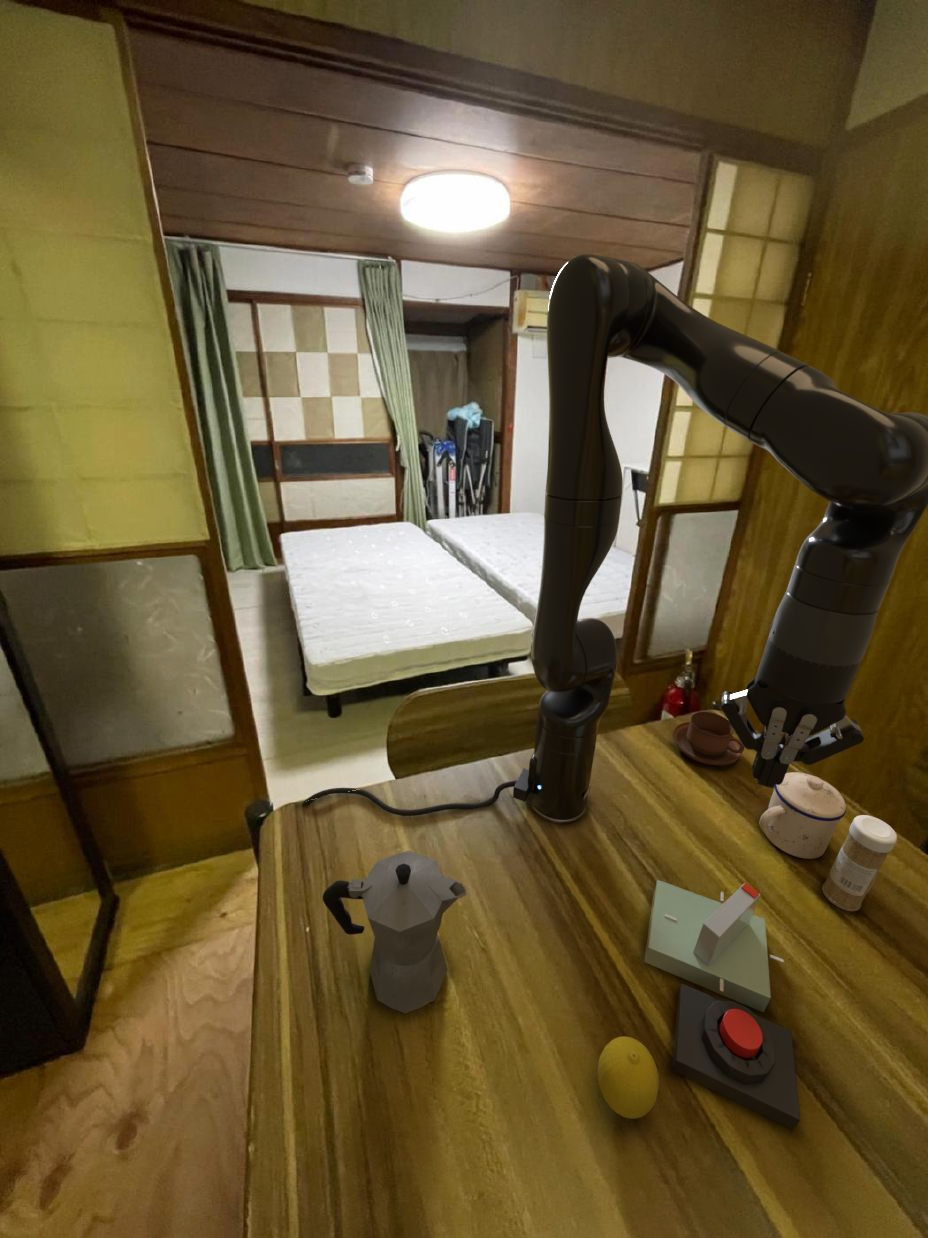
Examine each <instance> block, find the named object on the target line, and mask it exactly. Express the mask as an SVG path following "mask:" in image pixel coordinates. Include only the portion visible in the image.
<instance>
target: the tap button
mask: <svg viewBox="0 0 928 1238" xmlns="http://www.w3.org/2000/svg"><path fill="white" fill-rule="evenodd" d="M720 1034H721V1037H722V1040H723V1042H724V1043H725V1045H726V1046H727V1047H728V1048H729V1050H731V1051H732V1052H733V1053H734V1054H736V1055H737V1056H739V1057H742V1058H752V1057H754V1056H755V1055H756V1054H757V1052H758V1050H759V1048H760V1046H761V1045H762V1041H763V1036H762V1032H761V1029H760V1027H759V1025H758V1024H757V1022H756V1021H755V1020H754V1019H753V1018H752V1017H751V1016H750V1015H749V1014H748V1013H746V1012H744V1011H742V1010H739V1009H730V1010H728V1011H727V1012H726V1013H725V1014H724V1017H723V1019H722V1021H721V1024H720Z"/></svg>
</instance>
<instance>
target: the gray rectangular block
mask: <svg viewBox="0 0 928 1238" xmlns="http://www.w3.org/2000/svg"><path fill="white" fill-rule="evenodd" d="M761 896H762V895H761V894H760V892H758V890H756V889H755V888H754V887H752V886H750V885H749V884H748V883H747V882H744V883H743V884H742V885H741V886H740V887H739V888H738V889H737V890H735V892H733V894H731V895H730V896H729V897H728V898H727V899H726V900H724V902H722V903H723V904H722V905H721V906H720V907H719V908H718V909H717V910H716V911H715V912H714V913H713V914H712V915H711V916H710V917H709V918H708V919H707V920H706V921H705V922H704V923H703V926H702V928H701V931H700V934H699V937H698V940H697V943H696V946H695V948H694V951H693V952H694V953H695V954H696V955H697V956H698V957H699V958H700V959H701V960H702V961H703V962H704V963H705V964H706V965H707V966H710V965H711V963H712V962H713V961H714V960H715V959H716V958H717V957H718V956H719V955H720V954H721V953H722V952H723V951H724V950H725V949H726V948H727V946H728V945H729V944H730V943H731V942H732V941H733V940H734V939H735V938H736V937H737V936H738V935H739V934H740V933H741V932H742V930H743V929H744V928H745V927H746V926H747V925H748V924H749V922H750V920H751V918H752V915H754V912H755V910H756V908H757V905H758V903H759V900H760V898H761Z"/></svg>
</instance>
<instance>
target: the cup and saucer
mask: <svg viewBox="0 0 928 1238" xmlns="http://www.w3.org/2000/svg"><path fill="white" fill-rule="evenodd" d="M734 732H735V730H734V729H733V727H732V725H731V724H730V722H729V720H728V719H727V717H724V716H723V715H720V714H718V713H715V712H710V711H698V712H694V713H693V714H692V715H691V716H690V720H689V721H687V722H683V723H680V724H678V725H677V726H676V727H675V728H674V730H673V733H672V737H673V741H674V744H675V745H676V747H677V748H678V749H679V750H680V751H681V752H682V753H683V754H685V755H686V756H687V757H689V758H691V759H692V760H694V761H696V762H698V763H702V764H705V765H710V766H718V767H719V766H729V765H732V764H734V763H736V762H738V761H739V759H740V758H741V757H742V754H743V752H744V751H745V747H744V745H743V743H742V742H741V740H740V739H739V738H737V737H735V736H734V735H733V734H734Z"/></svg>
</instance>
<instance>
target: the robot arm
mask: <svg viewBox="0 0 928 1238" xmlns="http://www.w3.org/2000/svg"><path fill="white" fill-rule="evenodd" d="M546 350H547V351H546V352H547V353H546V354H547V373H548V374H547V375H548V401H549V403H548V404H549V405H548V406H549V407H548V408H549V409H548V410H549V413H548V447H547V471H546V472H547V473H546V480H545V481H546V483H545V490H544V491H545V493H544V494H545V495H544V513H543V545H542V546H543V547H542V560H541V573H540V583H539V592H538V599H537V605H536V610H535V617H534V623H533V630H532V636H531V637H532V639H531V662H532V668H533V672H534V676H535V678H536V680H537V681H538V683H539V685H540V686H541V687H543V688H544V690H546V691H545V692H544V693H543V694H542V695H541V696H540V699H539V701H538V705H537V717H536V718H537V719H536V728H535V737H534V748H533V753H532V755H531V757H530V759H529V763H528V769H527V768H525V767H523V768H522V771H521V772H520V774H519V776H518V778H517V779H516V780H512V781H507V782H502V783H501V784H500V785H498V786H497V787H496V788H495V789H494V792H493V795H492V797H490V798H488V799H486V800H483V801H481V802H475V803H462V802H461V803H460V802H458V803H456V802H455V803H444V804H443V803H442V804H438V805H432V806H428V807H424V808H416V809H401V808H395V807H393V806H390V805H388V804H386V803H385V802H384V801H381V799H380V798H378V797H377V796H376V795H374V794H373V793H371V792H369V791H367V790H365V789H362V788H359V789H360V790H356V789H358V788H357V787H356V788H355V787H334V788H327V789H324V790H321V791H318V792H316V793H313V794H312V795H310V796H309V797H308V798H306V799H305V800H304V801H303V802H302V803H301V805H302V807H307V806H309V805H310V804H312V803H313V802H314V801H316V800H317V799H315V798H318V799H321V798H323V797H326V796H330V795H336V794H352V795H359V796H363V797H365V798H367V799H369V800H370V801H371V802H373V803H374V804H375V805H377V806H378V807H379V808H381V809H382V810H383V811H385V812H387V813H389V814H392V815H396V816H402V817H403V816H404V817H413V816H422V815H427V814H432V813H437V812H442V811H449V810H476V809H483V808H486V807H490V806H491V805H493V804H494V803H496V802H497V801H498V800H499V797H500V794H501V792H502V791H503V790H505V789H508V788H513V789H512V790H513V792H512V798H513V799H516V800H518V801H522V802H525V806H526V807H529V808H531V809H532V811H533V813H535V814H536V815H537V816H538V817H540V818H541V819H543V820H545V821H546V822H550V823H553V824H559V825H565V824H567V825H568V824H572V823H574V822H578V820H580V819H581V818H582V817H583V816H584V815H585V813H586V810H587V802H588V794H589V792H591V786H592V785H590V782H591V775H592V770H593V763H594V758H595V752H596V746H597V739H598V734H599V727H600V721H601V719H602V717H603V716H604V714H605V713H606V711H607V709H608V707H609V702H610V698H611V693H612V689H613V686H614V681H615V676H616V672H617V665H618V647H617V642H616V638H615V636H614V633H613V631H612V630H611V628H610V627H609V626H608V625H607V624H606V622H604V621H602V620H601V619H599V618H595V617H583V618H579V613H580V608H581V605H582V602H583V598H584V596H585V594H586V592H587V590H588V588H589V586H590V584H591V582H592V580H593V578H594V577H595V576H596V575H597V572H598V571H599V569H600V567H601V566H602V564H603V563H604V561H605V559H606V558H607V556H608V554H609V552H610V551H611V549H612V547H613V544H614V541H615V540H616V537H617V534H618V529H619V525H620V515H621V507H622V498H623V488H624V487H623V485H624V482H623V481H624V480H623V471H622V466H621V462H620V459H619V455H618V452H617V449H616V446H615V442H614V440H613V437H612V434H611V431H610V428H609V424H608V421H607V414H606V409H605V385H606V375H607V362H608V359H613V358H622V359H626V360H630V361H632V362H635V363H639V364H641V365H644V366H646V367H650V368H652V369H655V370H656V371H658V372H660V373H662V374H664V375H665V376H667V377H668V378H669V379H671V380H672V381H673V382H675V383H676V385H678V386H679V387H680V388H681V389H682V390H683V391H684V393H685V394H686V395H687V396H688V397H689V398H690V400H692V402H693V403H694V404H695V405H697V406H698V407H699V409H701V410H702V411H703V412H704V413H706V414H707V415H708V416H709V417H711V418H712V419H714V421H716V422H718V423H719V424H721V425H722V426H724V427H726V428H727V429H729V430H731V431H732V432H733V433H735V434H737V435H739V436H740V437H742V438H743V439H745V440H747V441H749V442H751V443H752V444H754V445H756V446H758V447H759V448H761V449H763V450H765V451H767V452H768V453H770V455H771V456H773V457H774V459H775V460H776V461H777V462H778V463H779V464H780V465H781V466H782V467H783V468H785V469H786V470H787V471H788V472H789V473H790V474H791V475H792V476H793V477H794V478H795V479H796V480H798V481H799V482H800V483H801V484H803V486H805V487H806V488H808V489H809V490H810V491H811V492H813V493H815V494H816V495H818V496H819V497H821V498H823V499H824V500H826V501H828V505H827V508H826V509H825V513H824V515H823V518H822V519H821V521H820V523H819V524H818V526H816V528H814V530H813V531H812V532H810V533H809V535H808V536H806V538H805V539H804V541H803V543H802V544H801V546H800V549H799V550H798V553H797V556H796V558H795V562H794V565H793V569H792V572H791V575H790V578H789V581H788V584H787V588H786V591H785V592H784V595H783V597H782V599H781V601H780V603H779V605H778V607H777V609H776V612H775V615H774V618H773V619H772V620H771V624H770V626H769V633H768V637H767V639H766V643H765V646H764V650H763V653H762V656H761V660H760V663H759V666H758V668H757V672H756V675H755V677H754V678H753V679H751V681H749V682H748V683H747V685H746V688H745V690H742V691H739V692H735V693H733V692H732V691H729V690H726V691H723V692H722V693H721V711H722V712H723V714H724V716H725V718H726V719H727V720H728V721H729V722H730V724H731V725H732V727H733V729H734V732H735V734H736V735H737V737H738V739H739V740H740V741H741V742H742V743H743V745H744V749H746V750H753V751H755V752H756V753H755V755H754V758H753V762H752V764H751V770H752V771H751V772H752V778H753V779H755V780H756V784H757V785H758V786H763V787H766V788H768V789H769V788H770V789H774V788H775V787H774V785H775V784H777V785H780V784H781V783H782V782H783V780H784V777H785V774H786V773H788V769H789V766H790V765H791V764H792V763H795V762H801V763H803V764H804V765H807V766H811V765H814V764H816V763H818V762H821V761H823V760H825V759H827V758H830V757H832V756H834V755H837V754H839V753H841V752H843V751H847V750H848V749H850V748H853V747H855V746H858V745H860V744H862V743H863V742H864V740H865V738H864V735H863V731H862V729H861V727H860V724H859V722H858V721H857V720H856V719H852V718H850V717H849V716H848V715H847V708H846V705H845V701H846V699H847V697H848V695H849V692H850V689H851V687H852V684H853V682H854V680H855V678H856V675H857V673H858V670H859V668H860V666H861V663H862V661H863V659H864V656H865V654H866V651H867V650H868V649H867V648H868V646H869V644H870V642H871V640H872V636H873V633H874V630H875V627H876V621H877V617H878V614H879V610H880V608H881V606H882V603H883V601H884V599H885V595H886V594H887V591H888V588H889V586H890V584H891V581H892V578H893V576H894V574H895V571H896V567H897V564H898V561H899V558H900V556H901V553H902V551H903V549H904V547H905V545H906V543H907V541H908V540H909V539H910V537H911V535H912V534H913V533H914V530H915V529H916V527H917V525H918V523H919V522H920V520H921V518H922V516H923V515H924V513H925V512H926V510H927V507H928V415H925V414H923V413H919V412H914V411H913V412H912V411H910V412H909V411H901V412H892V413H891V412H890V413H889V412H886V411H883V410H881V409H878V408H877V407H874V406H872V405H869V404H867V403H865V402H864V401H862V400H859V399H858V398H856V397H853V396H852V395H850V394H847V393H846V392H844V391H842V390H841V389H838V387H837V385H836V383H835V381H834V380H833V379H832V378H831V377H830V376H829V375H827V374H826V373H824V372H823V371H821V370H820V369H818V368H816V367H813V366H812V365H810V364H808V363H806V362H804V361H802V360H799V359H797V358H796V357H794V356H792V355H789V354H787V353H785V352H783V351H781V350H779V349H777V348H774V347H772V346H770V345H768V344H766V343H763V342H762V341H759V340H757V339H755V338H753V337H750V336H748V335H745V334H743V333H741V332H739V331H737V330H734V329H732V328H729V327H728V326H725V325H723V324H721V323H719V322H717V321H715V320H713V319H711V318H710V317H708V316H706V315H705V314H703V313H701V312H700V311H698V310H697V309H695V308H694V307H692V306H691V305H689V304H688V303H687V302H685V301H684V300H682V299H681V298H680V297H679V296H678V295H676V293H674V292H673V291H671V289H669V288H668V287H667V286H666V285H664V284H663V283H662V282H660V281H659V280H658V279H657V278H656V277H655V276H653V275H652V274H651V273H649V272H648V271H647V270H646V269H645V268H643V267H642V266H640V265H639V264H637V263H635V262H631V261H627V260H623V259H618V258H614V257H610V256H604V255H599V254H593V253H582V254H579V255H576V256H574V257H572V258H570V260H568V261H567V262H566V263H565V264H564V265H563V266H562V268H561V269H560V270H559V272H558V274H557V276H556V278H555V280H554V282H553V285H552V288H551V291H550V295H549V300H548V306H547V315H546ZM578 618H579V619H578ZM748 704H750V706H751V708H752V710H753V711H754V714H755V715H756V717H757V719H758V721H759V722H760V724H761V725H762V729H761V732H760V733H758V732H757V731H756V729H755V727H754V726H753V724H752V722H751V721H750V719H749V717H748V716H747V714H746V713H748ZM352 790H356V791H352ZM348 791H350V792H348ZM311 799H315V800H311ZM308 800H309V801H308ZM306 801H307V802H306Z"/></svg>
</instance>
